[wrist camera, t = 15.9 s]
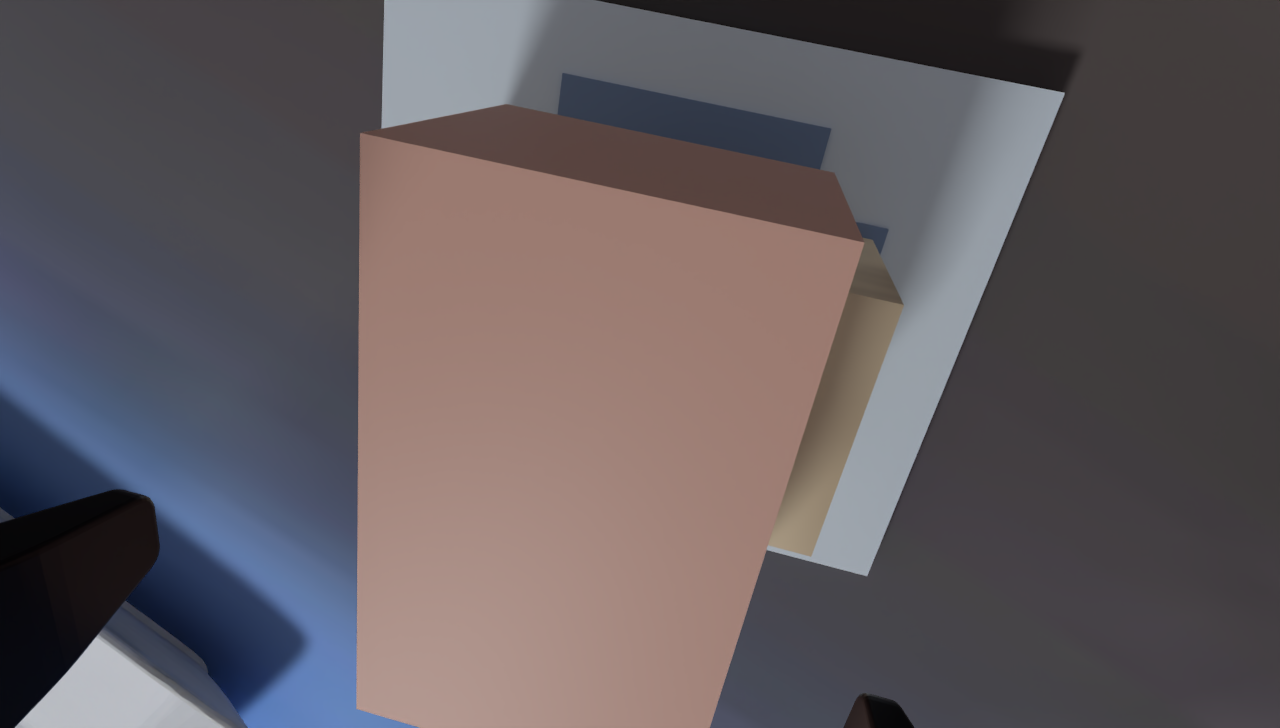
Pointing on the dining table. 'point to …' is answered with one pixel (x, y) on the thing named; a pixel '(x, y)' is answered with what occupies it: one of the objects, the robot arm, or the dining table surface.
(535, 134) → the brick
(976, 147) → the blueprint board
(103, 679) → the tray
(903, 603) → the dining table surface
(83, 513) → the robot arm
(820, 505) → the brick
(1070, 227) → the dining table surface
